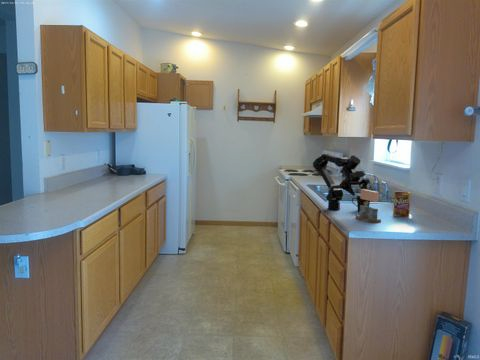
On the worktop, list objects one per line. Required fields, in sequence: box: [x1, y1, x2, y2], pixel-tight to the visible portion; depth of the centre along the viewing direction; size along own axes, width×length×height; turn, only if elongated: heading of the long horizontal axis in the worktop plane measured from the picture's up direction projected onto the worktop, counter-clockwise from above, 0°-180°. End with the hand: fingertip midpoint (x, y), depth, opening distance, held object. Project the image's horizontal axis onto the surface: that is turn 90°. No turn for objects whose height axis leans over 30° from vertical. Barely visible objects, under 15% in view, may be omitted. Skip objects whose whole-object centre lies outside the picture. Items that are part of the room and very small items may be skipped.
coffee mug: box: [351, 193, 371, 212], centre depth 248 cm, size 12×9×10 cm
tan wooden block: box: [359, 189, 380, 203], centre depth 220 cm, size 12×2×6 cm, turn 23°
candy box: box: [392, 190, 412, 219], centre depth 232 cm, size 9×4×15 cm, turn 60°
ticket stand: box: [355, 205, 382, 224], centre depth 221 cm, size 13×7×8 cm, turn 23°
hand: (360, 195), depth 226 cm, fingers open, 9 cm apart
